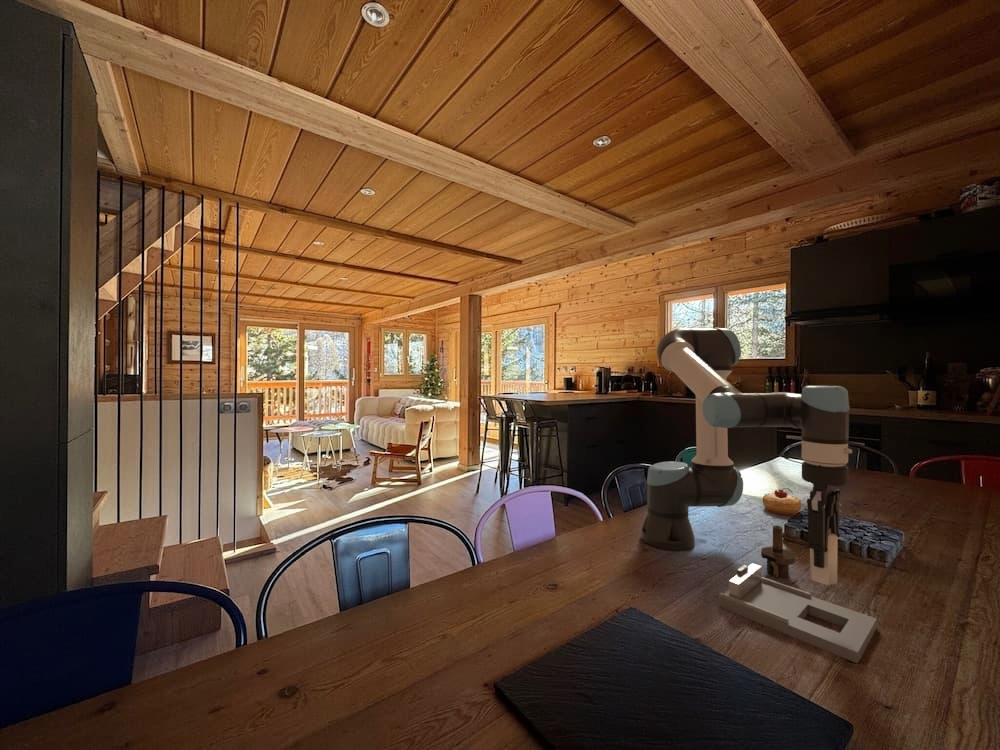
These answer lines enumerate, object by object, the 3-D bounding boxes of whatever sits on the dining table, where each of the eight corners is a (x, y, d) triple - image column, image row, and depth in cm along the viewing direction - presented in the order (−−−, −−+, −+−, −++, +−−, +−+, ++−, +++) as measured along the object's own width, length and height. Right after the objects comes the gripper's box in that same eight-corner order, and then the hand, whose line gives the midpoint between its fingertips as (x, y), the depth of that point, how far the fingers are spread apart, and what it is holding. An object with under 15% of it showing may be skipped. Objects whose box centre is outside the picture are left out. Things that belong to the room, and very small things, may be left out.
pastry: (764, 505, 166) (763, 482, 166) (801, 510, 159) (801, 486, 159) (761, 512, 156) (760, 488, 156) (801, 518, 149) (800, 492, 149)
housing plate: (718, 606, 95) (718, 593, 95) (747, 582, 105) (748, 571, 105) (857, 663, 77) (857, 648, 77) (876, 628, 87) (876, 614, 87)
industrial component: (774, 564, 115) (775, 520, 115) (802, 576, 108) (802, 529, 108) (749, 570, 112) (749, 524, 111) (776, 583, 105) (776, 534, 105)
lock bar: (728, 596, 95) (728, 576, 95) (751, 577, 103) (751, 559, 103) (738, 600, 93) (738, 579, 93) (761, 580, 102) (761, 562, 102)
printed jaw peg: (807, 578, 87) (807, 529, 87) (813, 571, 90) (813, 523, 90) (833, 586, 84) (834, 535, 84) (839, 579, 87) (840, 529, 86)
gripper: (835, 472, 78) (835, 600, 78) (858, 459, 89) (858, 571, 89) (788, 465, 84) (787, 585, 84) (815, 454, 95) (814, 559, 95)
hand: (824, 577), depth 87 cm, fingers closed on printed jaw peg, 4 cm apart
